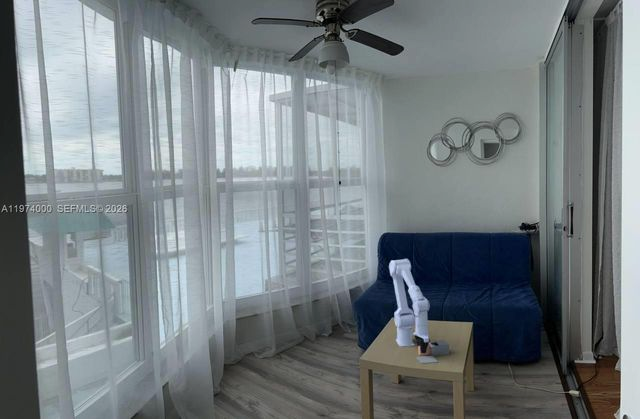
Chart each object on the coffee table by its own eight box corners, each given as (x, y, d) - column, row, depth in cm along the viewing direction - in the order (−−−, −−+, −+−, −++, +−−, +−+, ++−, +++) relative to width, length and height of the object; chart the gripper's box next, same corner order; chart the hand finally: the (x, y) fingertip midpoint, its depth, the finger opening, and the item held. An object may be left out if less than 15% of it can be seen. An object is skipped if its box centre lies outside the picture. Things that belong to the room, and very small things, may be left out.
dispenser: (427, 351, 212) (426, 341, 212) (444, 349, 213) (444, 339, 213) (431, 355, 206) (431, 345, 206) (449, 354, 207) (449, 344, 207)
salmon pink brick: (418, 353, 210) (418, 345, 209) (434, 352, 210) (434, 344, 210) (419, 355, 208) (419, 347, 208) (435, 354, 208) (435, 346, 208)
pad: (416, 357, 205) (416, 356, 205) (432, 356, 206) (432, 355, 206) (421, 363, 198) (421, 362, 198) (437, 362, 199) (437, 361, 199)
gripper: (409, 319, 215) (409, 346, 216) (418, 329, 200) (418, 357, 201) (422, 318, 215) (423, 345, 216) (432, 328, 201) (433, 356, 202)
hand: (422, 351), depth 209 cm, fingers open, 4 cm apart
